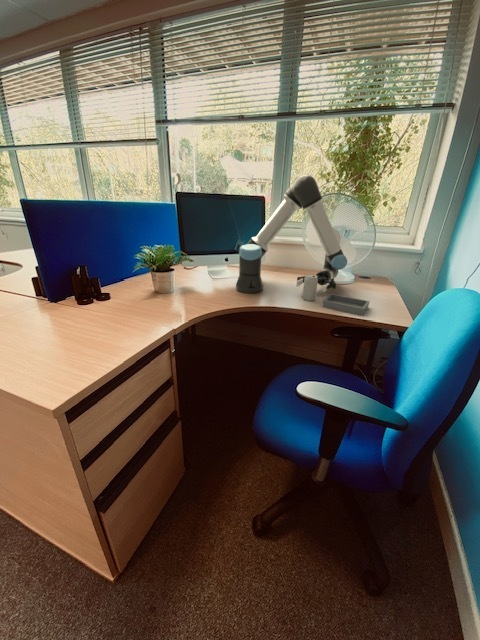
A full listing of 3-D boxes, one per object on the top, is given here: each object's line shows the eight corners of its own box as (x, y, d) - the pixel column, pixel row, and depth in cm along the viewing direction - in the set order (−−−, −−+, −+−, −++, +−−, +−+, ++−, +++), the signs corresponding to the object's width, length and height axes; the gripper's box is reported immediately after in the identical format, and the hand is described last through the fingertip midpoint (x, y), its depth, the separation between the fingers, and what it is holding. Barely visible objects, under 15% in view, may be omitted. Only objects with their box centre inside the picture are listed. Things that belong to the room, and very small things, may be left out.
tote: (322, 306, 124) (323, 300, 122) (329, 299, 133) (331, 293, 131) (362, 315, 114) (364, 309, 113) (368, 307, 123) (369, 301, 122)
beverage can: (315, 301, 129) (318, 278, 124) (302, 300, 131) (304, 277, 125) (314, 297, 135) (317, 274, 130) (302, 296, 136) (304, 274, 131)
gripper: (346, 287, 140) (334, 298, 124) (302, 279, 153) (286, 289, 137) (348, 273, 137) (337, 283, 121) (303, 266, 149) (287, 274, 133)
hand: (310, 286), depth 129 cm, fingers open, 13 cm apart
